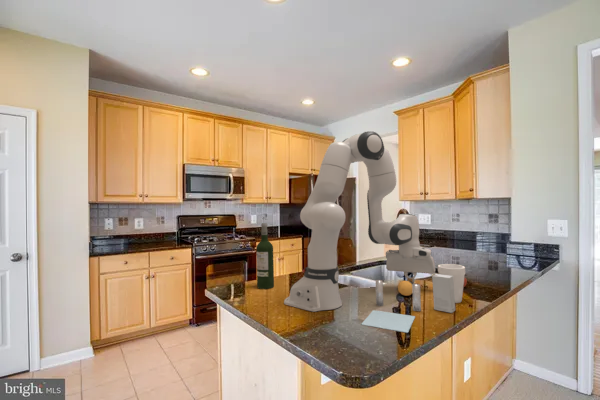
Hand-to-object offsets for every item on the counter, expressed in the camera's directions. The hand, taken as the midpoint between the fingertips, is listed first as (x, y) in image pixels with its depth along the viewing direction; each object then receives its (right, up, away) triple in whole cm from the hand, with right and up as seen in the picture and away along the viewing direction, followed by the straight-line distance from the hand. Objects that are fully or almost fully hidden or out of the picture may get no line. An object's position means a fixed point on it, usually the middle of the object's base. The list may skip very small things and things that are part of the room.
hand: (410, 282), depth 132 cm
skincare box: (+2, -3, -27) cm, 27 cm away
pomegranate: (+21, -3, +1) cm, 21 cm away
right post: (-7, -3, -26) cm, 27 cm away
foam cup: (+10, -3, -16) cm, 19 cm away
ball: (-5, 0, -9) cm, 10 cm away
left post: (-19, -3, -20) cm, 27 cm away
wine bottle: (-65, -5, +10) cm, 66 cm away
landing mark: (-20, -3, -35) cm, 40 cm away
